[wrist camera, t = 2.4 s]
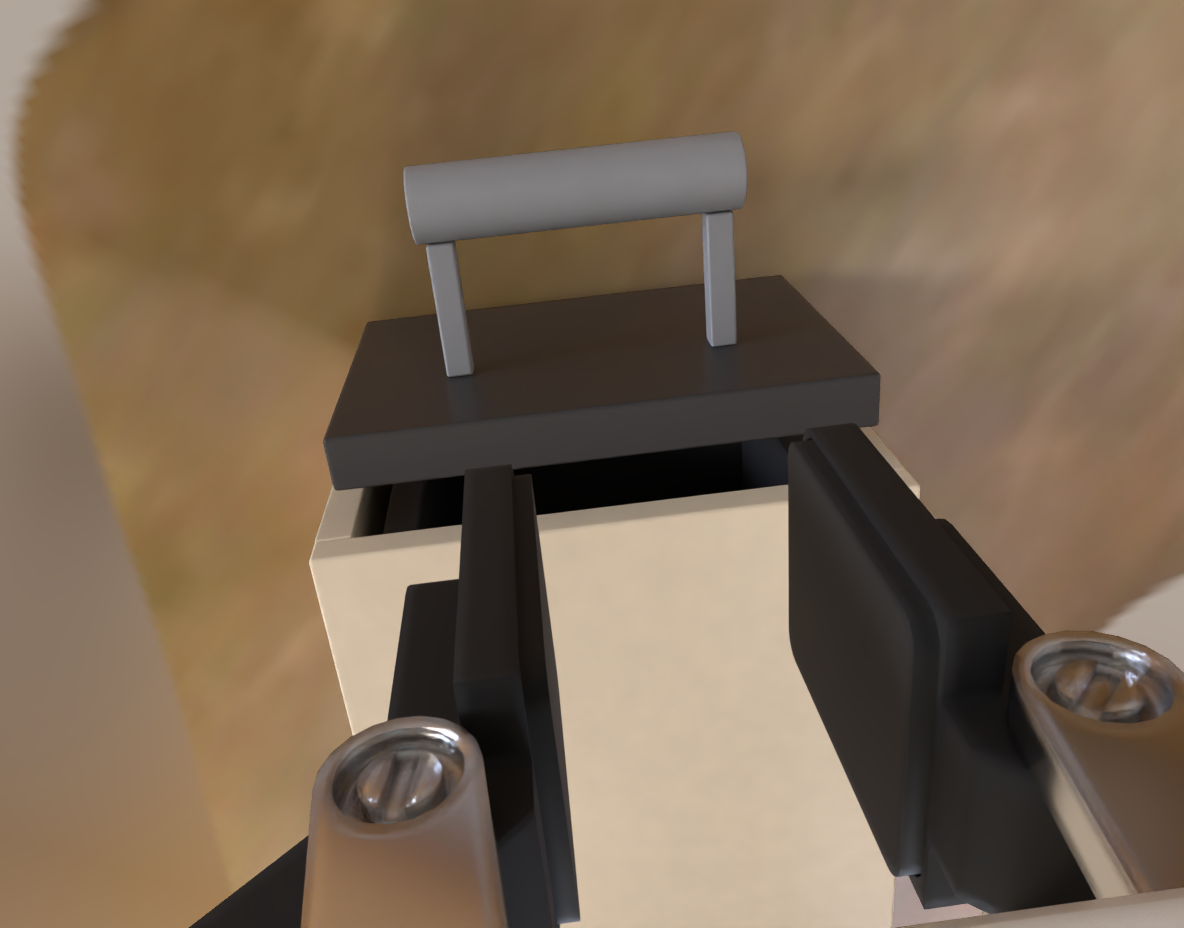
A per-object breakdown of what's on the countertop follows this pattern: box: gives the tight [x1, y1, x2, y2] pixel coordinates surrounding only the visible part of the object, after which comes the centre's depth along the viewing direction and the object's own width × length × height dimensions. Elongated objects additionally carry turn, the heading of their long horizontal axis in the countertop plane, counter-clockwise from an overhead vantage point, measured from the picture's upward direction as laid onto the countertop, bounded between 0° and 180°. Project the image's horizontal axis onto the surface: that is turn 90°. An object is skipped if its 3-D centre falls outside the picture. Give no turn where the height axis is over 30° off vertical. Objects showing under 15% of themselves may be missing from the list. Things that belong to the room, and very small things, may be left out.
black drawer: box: [323, 131, 881, 534], centre depth 25 cm, size 18×11×8 cm, turn 5°
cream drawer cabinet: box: [309, 427, 920, 928], centre depth 28 cm, size 15×13×10 cm
